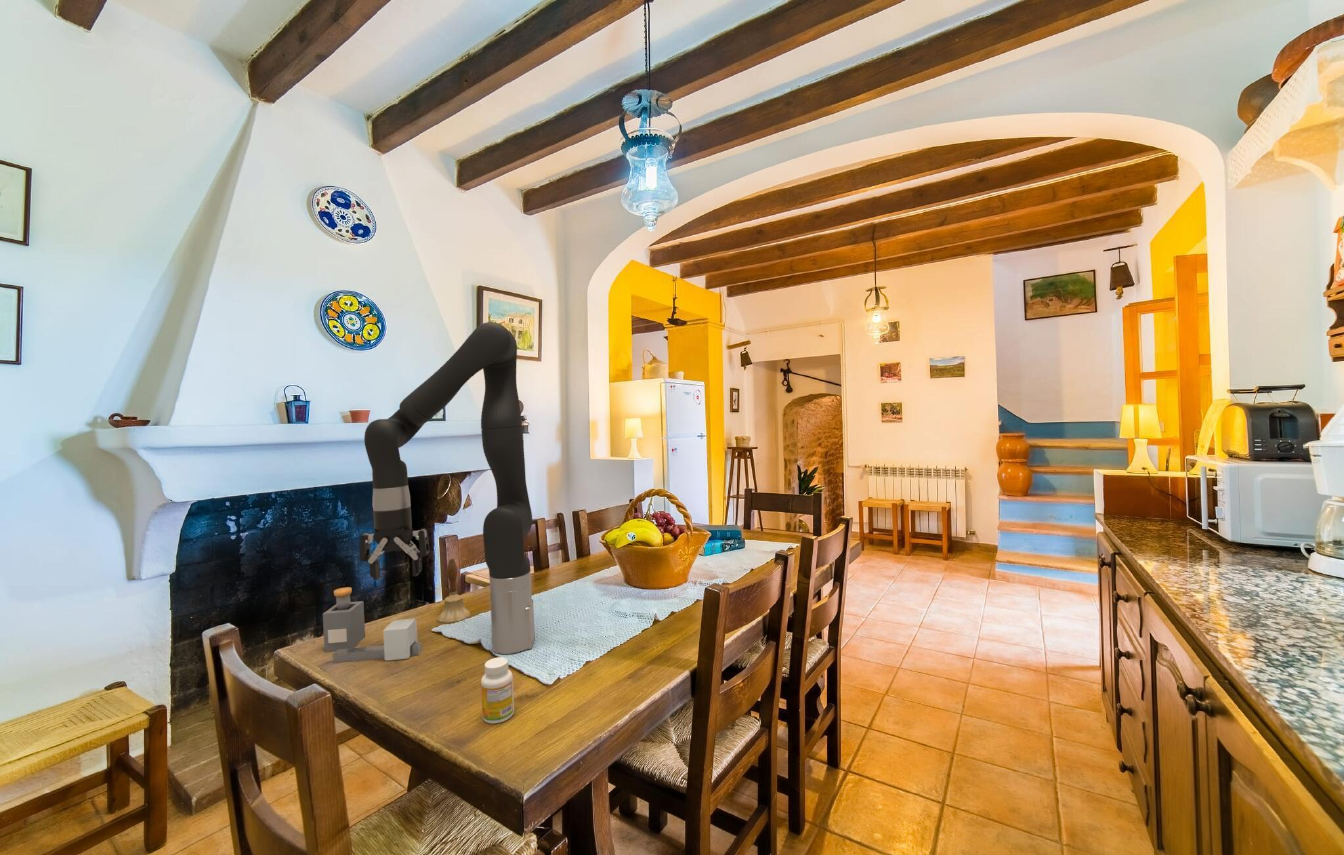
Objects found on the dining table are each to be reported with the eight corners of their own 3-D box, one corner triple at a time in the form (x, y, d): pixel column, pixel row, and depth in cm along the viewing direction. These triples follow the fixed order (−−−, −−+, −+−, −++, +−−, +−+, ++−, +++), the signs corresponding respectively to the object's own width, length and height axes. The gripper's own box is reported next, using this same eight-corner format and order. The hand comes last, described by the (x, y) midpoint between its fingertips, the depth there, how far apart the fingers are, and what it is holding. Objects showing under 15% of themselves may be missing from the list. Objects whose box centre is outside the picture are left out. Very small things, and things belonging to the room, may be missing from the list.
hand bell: (476, 614, 141) (474, 557, 141) (448, 625, 135) (445, 565, 134) (459, 609, 146) (456, 553, 146) (431, 619, 139) (428, 560, 139)
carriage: (417, 646, 122) (416, 618, 122) (408, 658, 116) (407, 628, 116) (395, 648, 121) (393, 620, 121) (384, 660, 115) (383, 630, 115)
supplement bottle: (487, 708, 95) (485, 656, 95) (517, 705, 96) (514, 654, 96) (478, 725, 90) (476, 670, 90) (510, 723, 90) (508, 668, 90)
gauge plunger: (355, 606, 127) (354, 586, 127) (348, 612, 124) (347, 591, 123) (339, 608, 127) (338, 587, 127) (332, 613, 123) (330, 592, 123)
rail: (421, 650, 120) (421, 641, 120) (418, 654, 118) (417, 646, 118) (338, 657, 118) (338, 649, 118) (333, 662, 116) (332, 654, 115)
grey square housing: (365, 636, 129) (363, 601, 129) (351, 649, 122) (349, 611, 122) (339, 638, 128) (337, 603, 128) (324, 652, 121) (322, 614, 121)
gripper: (430, 501, 122) (434, 569, 123) (366, 505, 120) (370, 574, 121) (419, 507, 115) (423, 579, 115) (350, 511, 113) (355, 585, 113)
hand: (396, 576), depth 118 cm, fingers open, 8 cm apart
